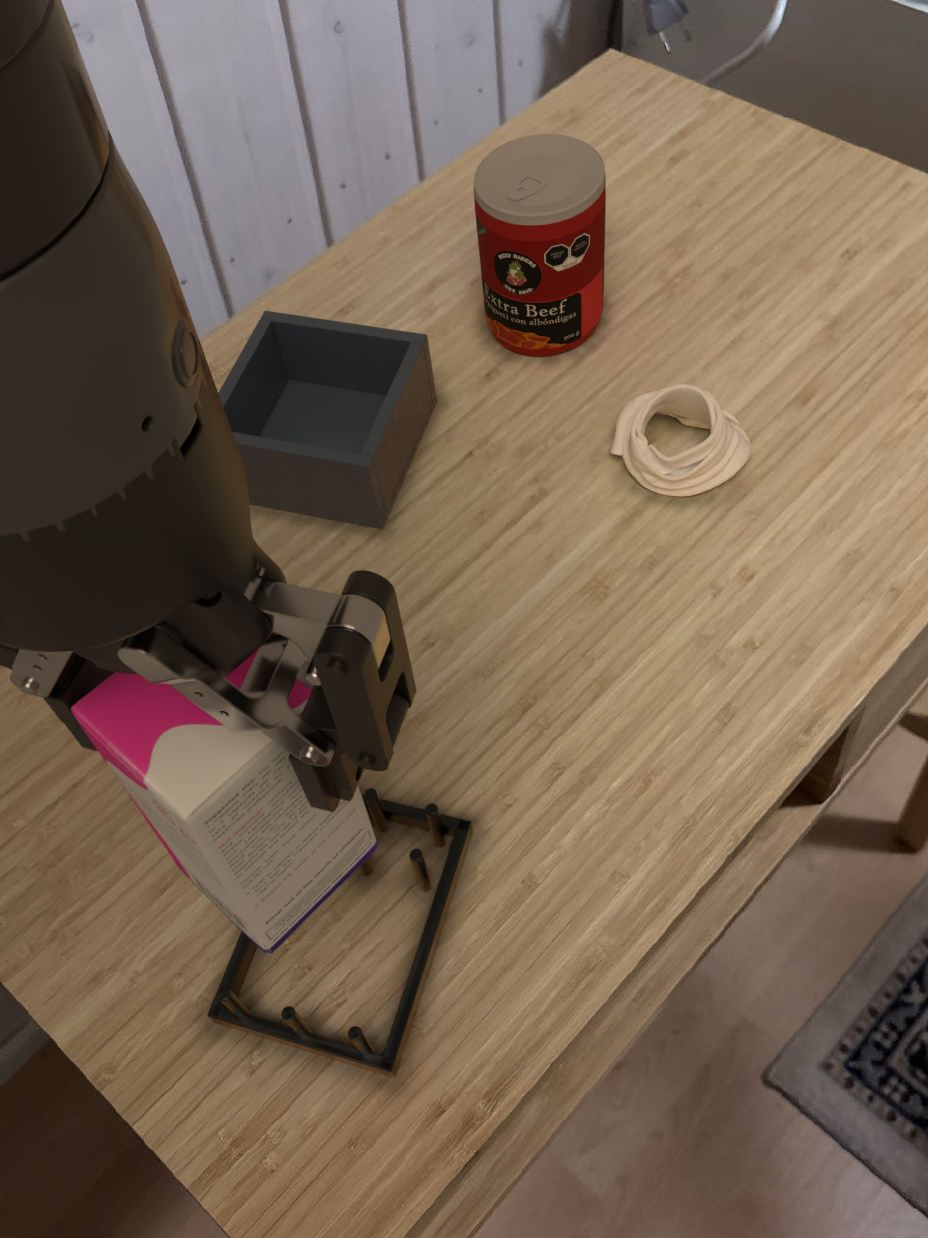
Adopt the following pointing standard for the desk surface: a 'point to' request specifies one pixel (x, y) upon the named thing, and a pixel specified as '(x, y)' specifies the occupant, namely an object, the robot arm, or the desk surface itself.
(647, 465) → the cream coiled cloth
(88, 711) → the supplement box
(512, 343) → the canned food
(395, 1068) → the dish rack
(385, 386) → the dark grey storage bin
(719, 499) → the desk surface
